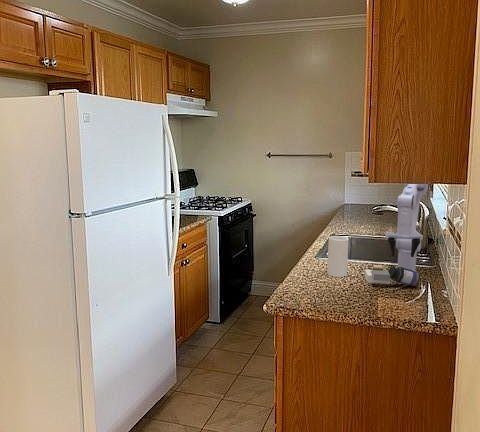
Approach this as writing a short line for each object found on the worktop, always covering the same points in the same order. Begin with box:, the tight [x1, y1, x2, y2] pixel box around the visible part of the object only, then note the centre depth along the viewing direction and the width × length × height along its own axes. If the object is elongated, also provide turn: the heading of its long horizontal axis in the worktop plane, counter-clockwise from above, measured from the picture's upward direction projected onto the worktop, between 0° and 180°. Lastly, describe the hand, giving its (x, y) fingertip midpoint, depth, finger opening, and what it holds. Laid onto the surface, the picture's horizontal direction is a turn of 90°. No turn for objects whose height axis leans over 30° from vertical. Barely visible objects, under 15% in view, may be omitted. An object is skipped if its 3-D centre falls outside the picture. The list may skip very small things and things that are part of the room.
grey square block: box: [371, 269, 391, 282], centre depth 186 cm, size 6×6×2 cm
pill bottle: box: [387, 266, 421, 287], centre depth 187 cm, size 6×6×11 cm
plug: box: [372, 264, 384, 271], centre depth 195 cm, size 4×4×6 cm
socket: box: [364, 269, 391, 285], centre depth 195 cm, size 9×9×3 cm
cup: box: [326, 235, 349, 278], centre depth 201 cm, size 8×8×16 cm
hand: (402, 256), depth 195 cm, fingers open, 7 cm apart
